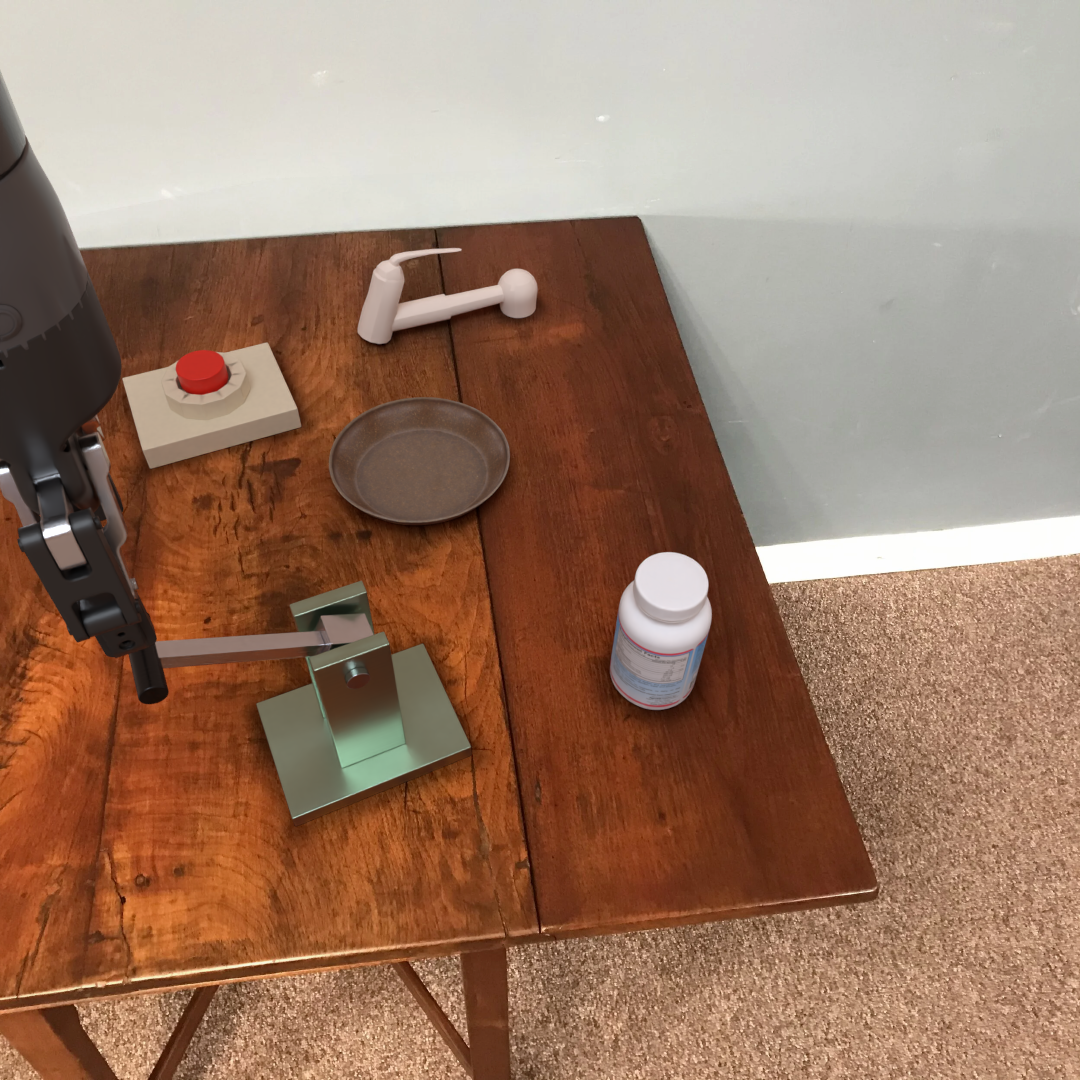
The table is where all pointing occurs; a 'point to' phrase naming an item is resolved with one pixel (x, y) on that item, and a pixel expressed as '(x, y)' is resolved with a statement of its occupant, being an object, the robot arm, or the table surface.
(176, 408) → the button box
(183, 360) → the button
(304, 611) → the bracket
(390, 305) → the faucet
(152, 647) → the tap handle
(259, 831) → the table surface
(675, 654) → the pill bottle
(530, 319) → the table surface
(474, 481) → the saucer
